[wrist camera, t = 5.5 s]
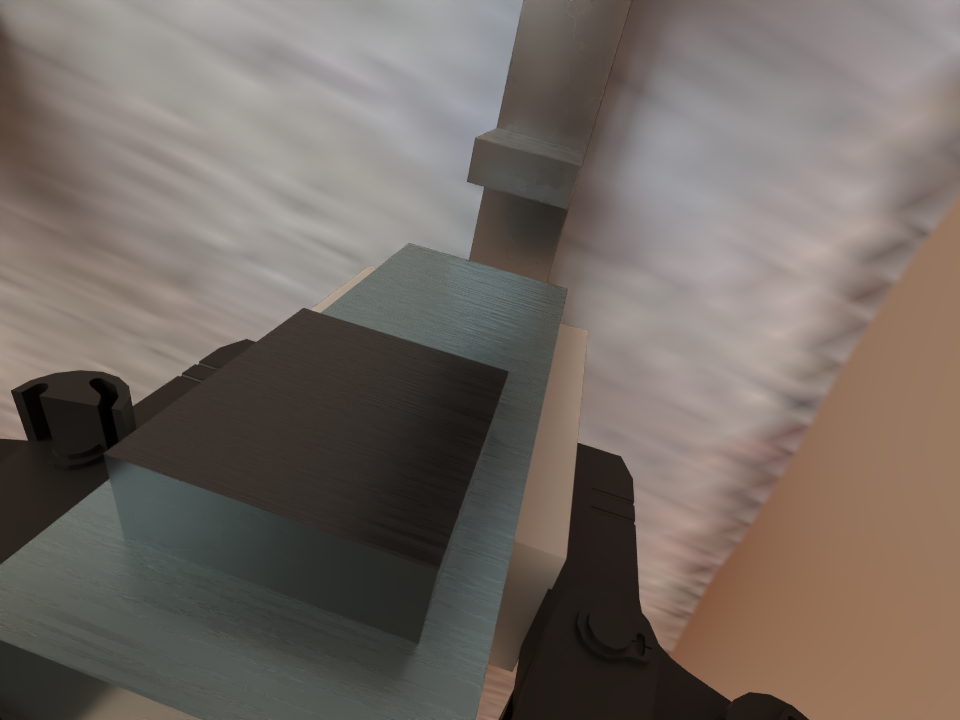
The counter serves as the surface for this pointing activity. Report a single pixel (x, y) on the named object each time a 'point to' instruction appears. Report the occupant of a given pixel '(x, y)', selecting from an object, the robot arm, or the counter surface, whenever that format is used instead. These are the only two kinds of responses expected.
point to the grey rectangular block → (302, 519)
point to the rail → (542, 130)
